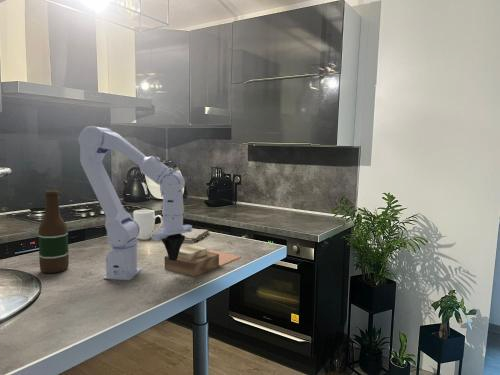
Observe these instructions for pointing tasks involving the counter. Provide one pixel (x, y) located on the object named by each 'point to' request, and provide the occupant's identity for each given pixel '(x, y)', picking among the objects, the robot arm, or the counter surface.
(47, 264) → the beer bottle
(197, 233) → the washcloth
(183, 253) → the tile
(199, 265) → the brown flat block
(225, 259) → the mat
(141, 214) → the mug
